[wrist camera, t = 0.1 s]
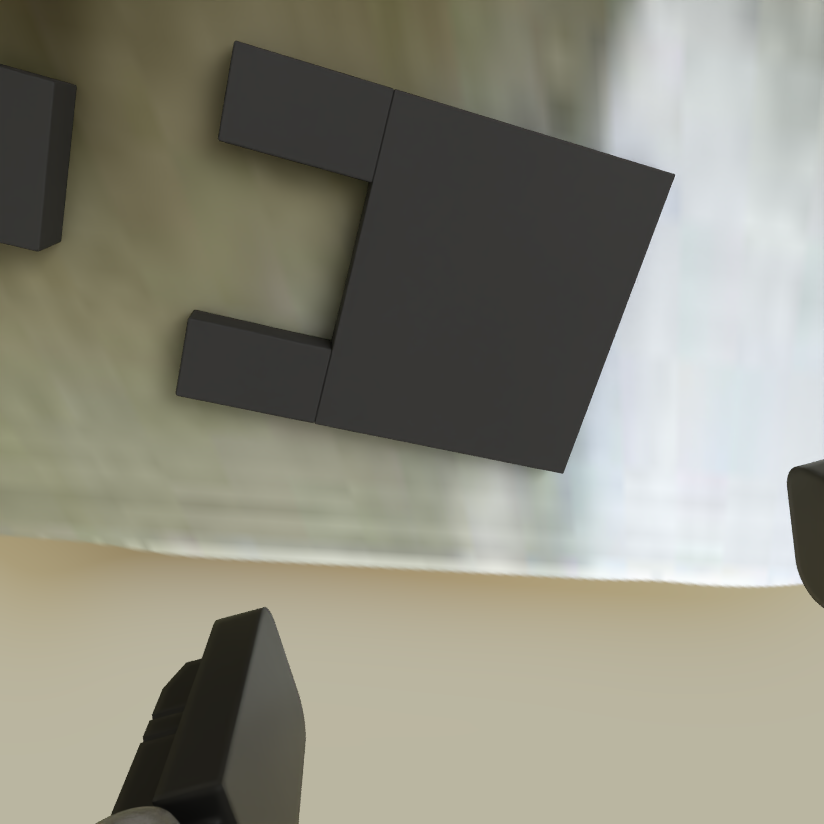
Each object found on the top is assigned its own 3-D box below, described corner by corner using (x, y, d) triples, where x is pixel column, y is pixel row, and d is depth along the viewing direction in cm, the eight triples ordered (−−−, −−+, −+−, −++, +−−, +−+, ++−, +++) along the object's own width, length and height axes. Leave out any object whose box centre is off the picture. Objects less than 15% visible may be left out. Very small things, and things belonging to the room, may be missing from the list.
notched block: (238, 44, 27) (234, 39, 26) (659, 172, 31) (675, 174, 29) (181, 384, 32) (174, 395, 30) (553, 460, 35) (563, 474, 34)
